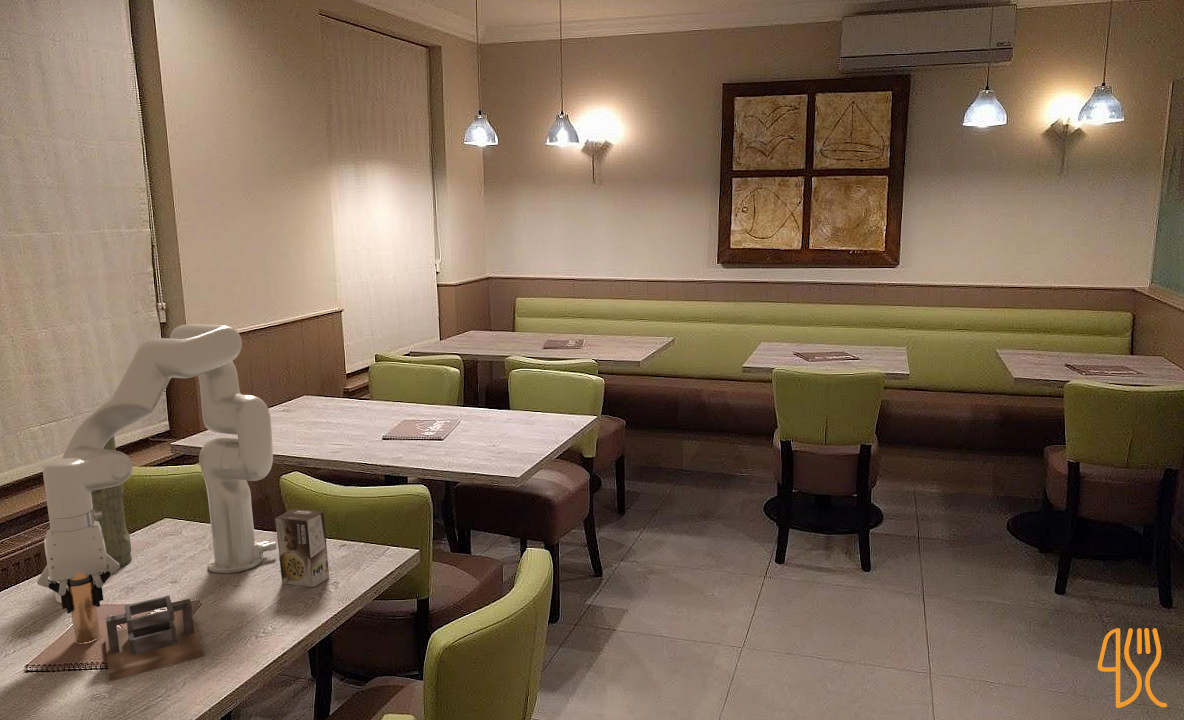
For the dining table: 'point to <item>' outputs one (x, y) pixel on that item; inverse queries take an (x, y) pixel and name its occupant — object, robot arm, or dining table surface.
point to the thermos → (113, 518)
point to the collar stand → (151, 637)
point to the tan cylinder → (83, 608)
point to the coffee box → (302, 547)
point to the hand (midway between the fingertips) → (83, 606)
